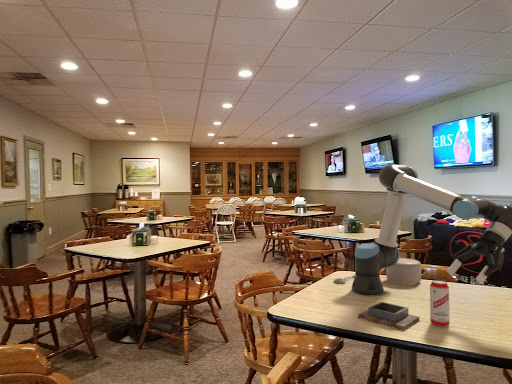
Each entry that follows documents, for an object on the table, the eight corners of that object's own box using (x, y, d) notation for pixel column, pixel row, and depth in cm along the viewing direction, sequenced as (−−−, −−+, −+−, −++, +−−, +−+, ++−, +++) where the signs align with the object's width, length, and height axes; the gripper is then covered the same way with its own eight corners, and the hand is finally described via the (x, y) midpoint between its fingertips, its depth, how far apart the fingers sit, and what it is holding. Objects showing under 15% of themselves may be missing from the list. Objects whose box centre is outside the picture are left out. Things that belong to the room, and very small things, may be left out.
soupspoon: (330, 285, 190) (341, 287, 185) (330, 279, 190) (341, 281, 185) (350, 276, 206) (360, 279, 201) (350, 271, 206) (360, 273, 201)
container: (418, 287, 180) (418, 264, 180) (383, 282, 190) (382, 261, 190) (423, 280, 195) (423, 259, 195) (390, 276, 205) (389, 256, 205)
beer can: (452, 328, 124) (451, 284, 124) (433, 327, 125) (432, 283, 125) (446, 322, 130) (445, 280, 130) (428, 321, 131) (427, 279, 131)
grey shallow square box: (368, 315, 134) (368, 307, 134) (381, 308, 141) (381, 301, 141) (395, 322, 126) (395, 314, 126) (408, 315, 133) (408, 307, 133)
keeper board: (358, 318, 135) (358, 314, 135) (375, 309, 145) (375, 306, 145) (403, 330, 122) (403, 326, 122) (419, 320, 132) (419, 316, 132)
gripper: (533, 247, 122) (499, 292, 118) (473, 239, 146) (444, 276, 143) (520, 232, 121) (486, 278, 117) (463, 227, 145) (433, 264, 141)
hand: (463, 277), depth 130 cm, fingers open, 13 cm apart
